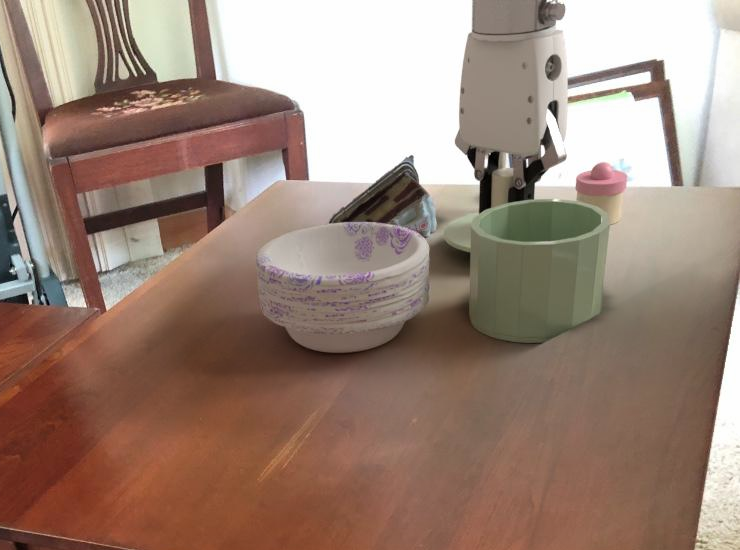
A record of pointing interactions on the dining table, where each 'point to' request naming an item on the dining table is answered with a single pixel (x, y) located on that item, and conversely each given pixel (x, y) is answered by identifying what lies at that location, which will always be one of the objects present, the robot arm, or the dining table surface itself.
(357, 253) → the paper bowls
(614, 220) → the cupcake
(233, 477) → the dining table surface
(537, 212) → the pot
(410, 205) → the chocolate cake
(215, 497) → the dining table surface
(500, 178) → the lid
